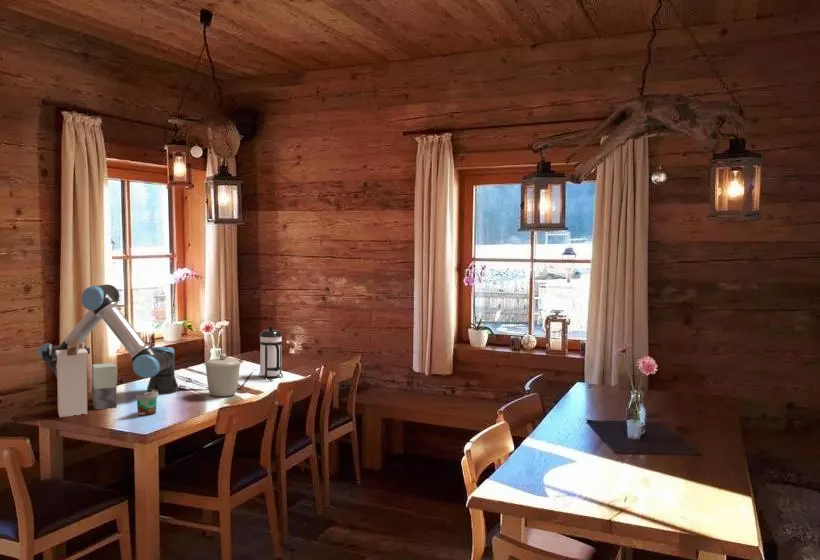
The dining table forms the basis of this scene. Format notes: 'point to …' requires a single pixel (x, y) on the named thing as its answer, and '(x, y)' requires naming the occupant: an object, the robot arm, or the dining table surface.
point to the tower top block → (104, 375)
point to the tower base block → (104, 398)
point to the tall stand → (72, 383)
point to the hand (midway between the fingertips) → (67, 345)
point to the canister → (222, 375)
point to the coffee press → (270, 353)
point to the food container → (147, 403)
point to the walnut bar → (73, 347)
